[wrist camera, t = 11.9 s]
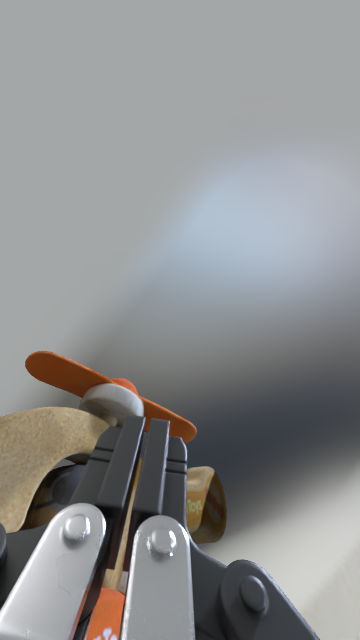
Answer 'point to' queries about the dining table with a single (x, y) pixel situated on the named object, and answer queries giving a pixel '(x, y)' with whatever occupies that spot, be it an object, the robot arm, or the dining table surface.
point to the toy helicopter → (77, 445)
